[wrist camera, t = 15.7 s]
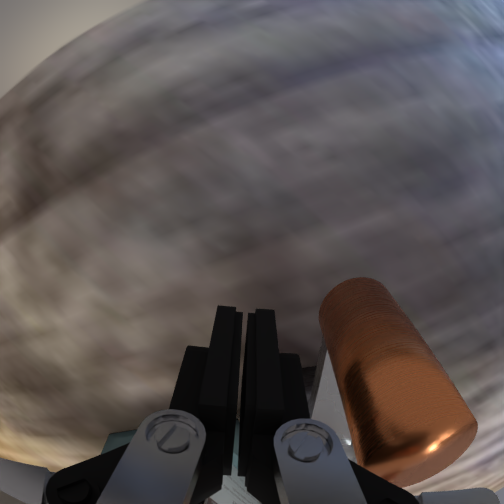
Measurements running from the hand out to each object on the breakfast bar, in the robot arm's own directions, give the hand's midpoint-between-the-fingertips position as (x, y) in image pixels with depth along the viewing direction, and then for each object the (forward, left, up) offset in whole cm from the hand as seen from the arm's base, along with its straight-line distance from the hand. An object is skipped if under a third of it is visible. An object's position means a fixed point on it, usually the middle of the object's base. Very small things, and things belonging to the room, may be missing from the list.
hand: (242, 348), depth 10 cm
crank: (-1, +6, -3) cm, 7 cm away
